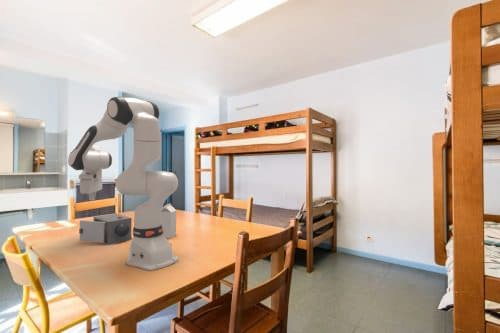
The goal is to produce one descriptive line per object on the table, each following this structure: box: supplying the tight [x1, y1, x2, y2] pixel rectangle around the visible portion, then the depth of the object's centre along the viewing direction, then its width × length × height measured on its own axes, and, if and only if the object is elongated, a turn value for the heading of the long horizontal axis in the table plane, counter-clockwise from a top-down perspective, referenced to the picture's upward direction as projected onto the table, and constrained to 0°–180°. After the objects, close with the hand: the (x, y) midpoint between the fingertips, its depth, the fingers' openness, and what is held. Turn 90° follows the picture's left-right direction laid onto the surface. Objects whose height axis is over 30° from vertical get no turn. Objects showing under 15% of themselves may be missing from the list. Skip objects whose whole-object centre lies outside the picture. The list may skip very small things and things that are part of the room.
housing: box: [93, 213, 133, 246], centre depth 132 cm, size 22×12×13 cm, turn 52°
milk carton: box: [161, 203, 177, 239], centre depth 137 cm, size 7×7×19 cm
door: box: [78, 220, 106, 244], centre depth 123 cm, size 16×2×11 cm, turn 77°
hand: (92, 200), depth 127 cm, fingers closed
